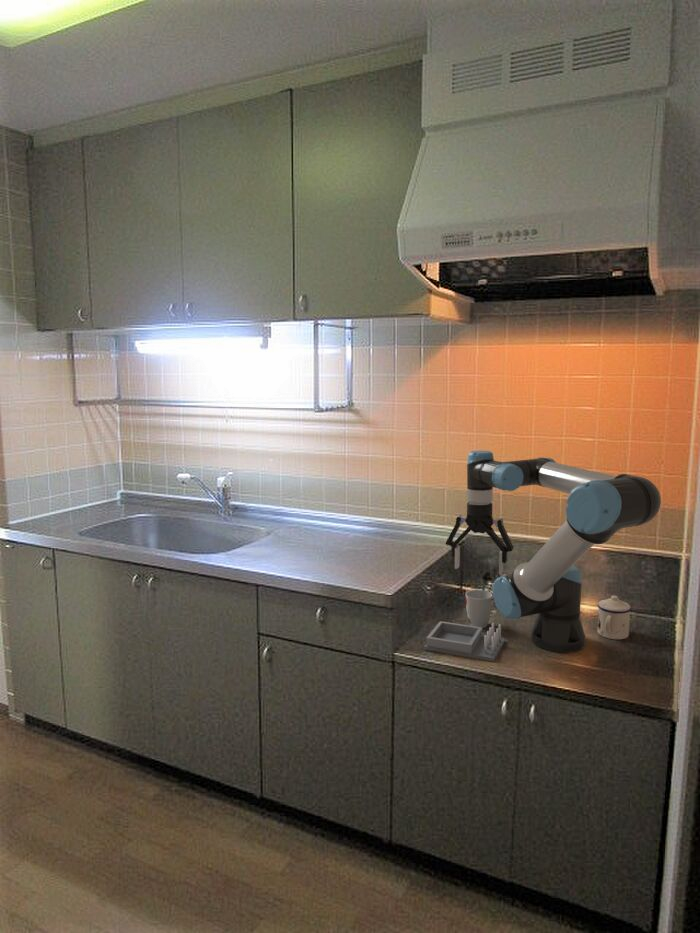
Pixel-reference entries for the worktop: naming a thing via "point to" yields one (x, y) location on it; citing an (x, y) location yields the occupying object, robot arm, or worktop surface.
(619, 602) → the teacup with lid
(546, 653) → the worktop surface
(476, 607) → the cup
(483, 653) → the dish rack
